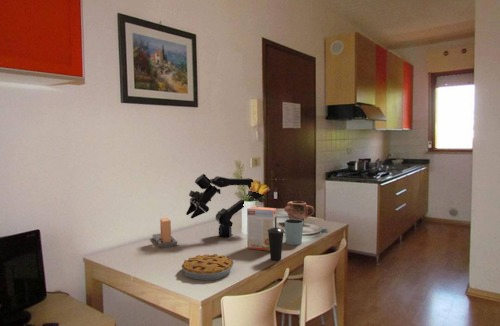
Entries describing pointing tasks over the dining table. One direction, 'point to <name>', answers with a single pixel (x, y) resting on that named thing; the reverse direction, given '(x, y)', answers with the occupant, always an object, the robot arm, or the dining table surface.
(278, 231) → the drinking cup
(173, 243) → the gray slotted base
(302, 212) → the brown teapot
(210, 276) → the pie
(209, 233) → the dining table surface
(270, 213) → the cracker box
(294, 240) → the blue gray cylindrical container
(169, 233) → the clip
